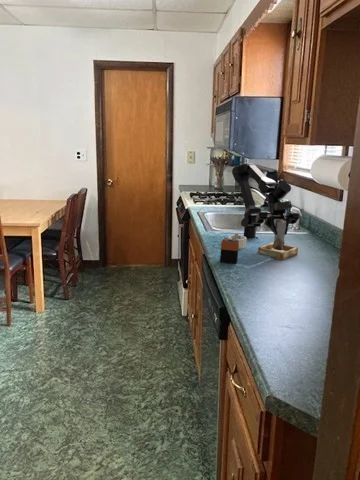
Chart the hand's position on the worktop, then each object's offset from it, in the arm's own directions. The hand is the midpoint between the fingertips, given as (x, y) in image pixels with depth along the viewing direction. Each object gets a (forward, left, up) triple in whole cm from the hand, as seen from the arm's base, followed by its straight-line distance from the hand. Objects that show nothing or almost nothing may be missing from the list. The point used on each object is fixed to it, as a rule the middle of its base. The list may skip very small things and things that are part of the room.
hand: (280, 234), depth 177 cm
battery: (+25, -9, -10) cm, 28 cm away
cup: (+5, -19, -9) cm, 22 cm away
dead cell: (+5, -19, -9) cm, 22 cm away
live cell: (-1, -1, -7) cm, 7 cm away
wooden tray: (-1, -1, -9) cm, 10 cm away
